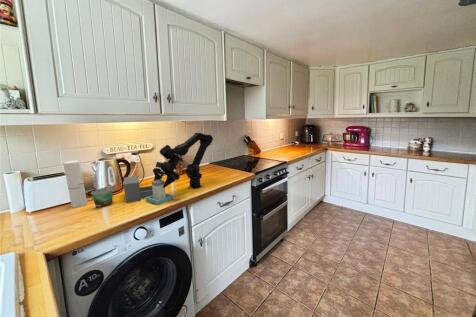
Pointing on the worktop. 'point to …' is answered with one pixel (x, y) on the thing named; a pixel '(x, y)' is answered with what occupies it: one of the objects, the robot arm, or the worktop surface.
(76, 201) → the grey rectangular column
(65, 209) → the worktop surface
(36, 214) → the worktop surface
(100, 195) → the food container
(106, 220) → the worktop surface
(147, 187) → the coffee machine bay
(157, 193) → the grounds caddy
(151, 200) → the teal tray
